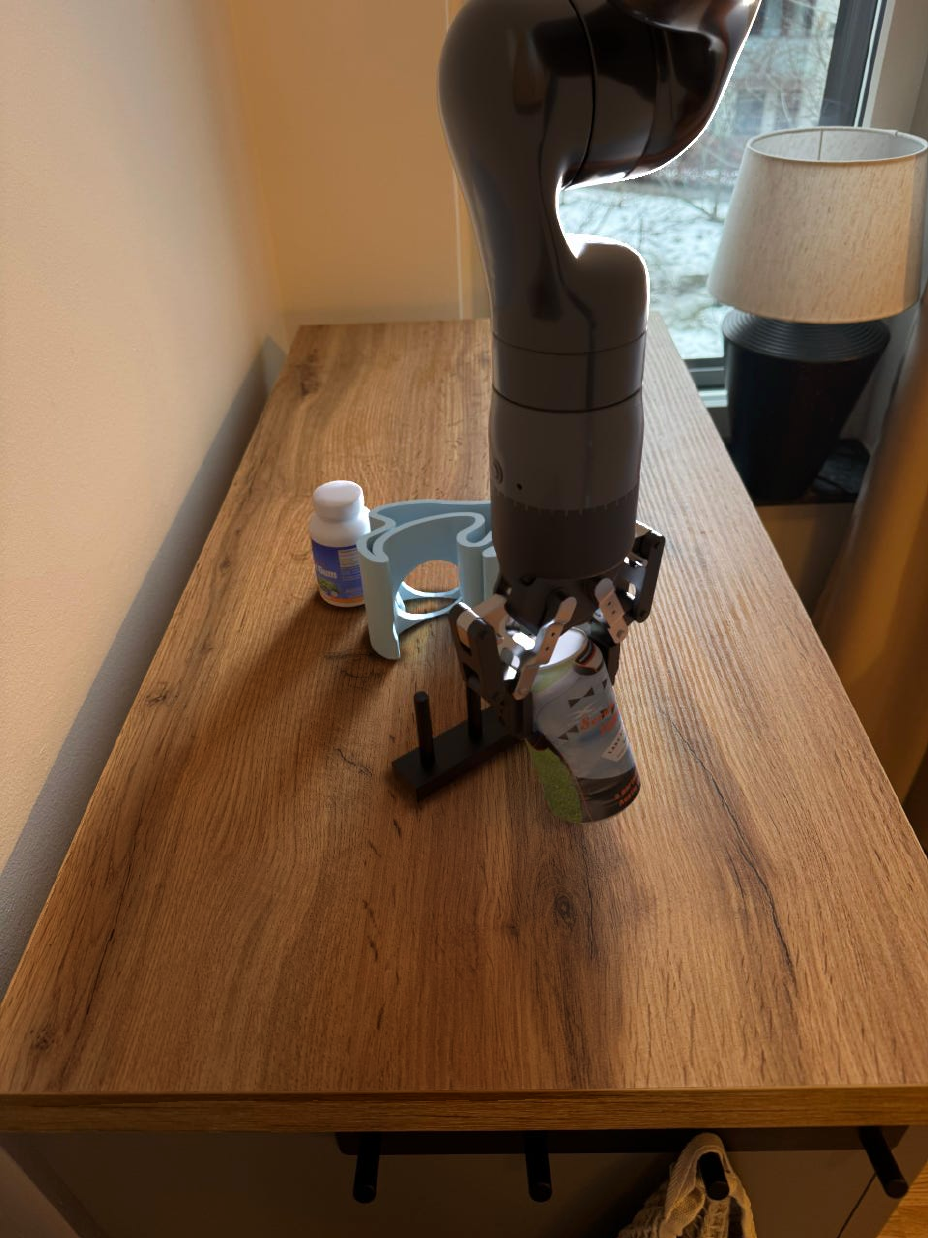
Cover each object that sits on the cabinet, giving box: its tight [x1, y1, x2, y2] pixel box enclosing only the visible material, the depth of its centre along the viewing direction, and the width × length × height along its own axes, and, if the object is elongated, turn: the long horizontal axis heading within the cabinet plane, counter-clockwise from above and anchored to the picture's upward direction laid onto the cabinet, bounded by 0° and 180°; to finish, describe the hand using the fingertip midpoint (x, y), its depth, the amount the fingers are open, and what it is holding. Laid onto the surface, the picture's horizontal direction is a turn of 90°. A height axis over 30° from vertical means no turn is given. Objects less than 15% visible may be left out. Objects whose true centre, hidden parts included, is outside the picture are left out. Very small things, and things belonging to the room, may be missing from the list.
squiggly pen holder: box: [356, 498, 591, 660], centre depth 71 cm, size 18×10×9 cm, turn 92°
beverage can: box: [510, 627, 642, 825], centre depth 56 cm, size 6×7×12 cm
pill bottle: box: [307, 480, 371, 608], centre depth 76 cm, size 5×5×10 cm
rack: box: [390, 682, 523, 804], centre depth 63 cm, size 3×16×8 cm, turn 127°
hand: (558, 704), depth 56 cm, fingers closed on beverage can, 6 cm apart
